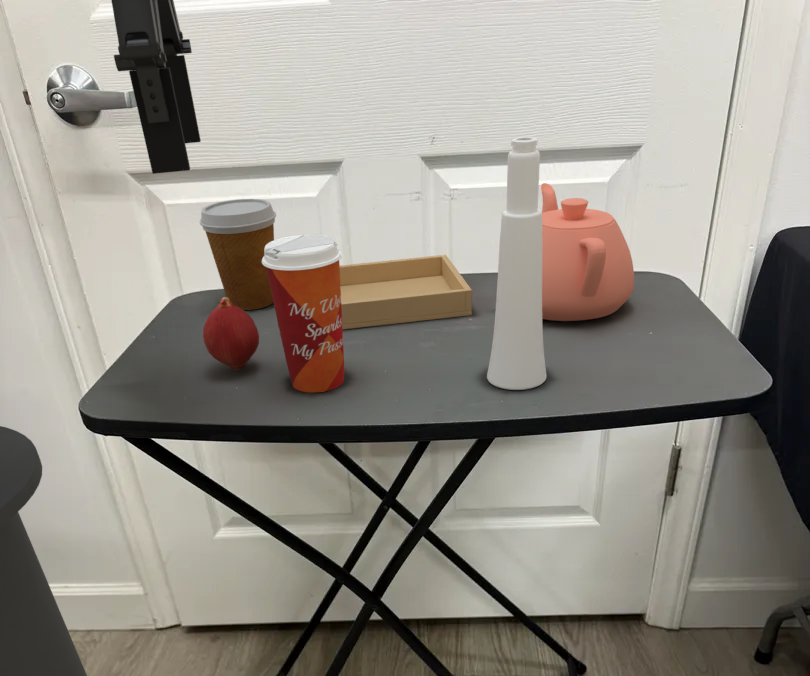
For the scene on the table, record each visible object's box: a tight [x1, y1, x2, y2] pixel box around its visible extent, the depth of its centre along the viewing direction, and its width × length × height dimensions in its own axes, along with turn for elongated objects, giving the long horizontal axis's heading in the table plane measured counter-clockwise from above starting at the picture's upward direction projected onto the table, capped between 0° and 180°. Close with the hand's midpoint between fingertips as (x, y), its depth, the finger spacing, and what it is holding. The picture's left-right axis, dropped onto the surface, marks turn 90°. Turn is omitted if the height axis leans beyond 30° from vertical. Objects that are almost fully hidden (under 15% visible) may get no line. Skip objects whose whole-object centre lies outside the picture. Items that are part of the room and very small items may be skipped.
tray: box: [340, 254, 473, 330], centre depth 99 cm, size 20×16×3 cm
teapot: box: [540, 183, 635, 322], centre depth 92 cm, size 22×15×12 cm
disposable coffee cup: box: [199, 198, 277, 311], centre depth 99 cm, size 10×10×12 cm
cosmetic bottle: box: [486, 136, 548, 391], centre depth 72 cm, size 6×6×22 cm
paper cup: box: [262, 234, 345, 393], centre depth 77 cm, size 8×8×14 cm
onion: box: [202, 296, 260, 371], centre depth 83 cm, size 6×6×8 cm
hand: (179, 156), depth 63 cm, fingers open, 13 cm apart
